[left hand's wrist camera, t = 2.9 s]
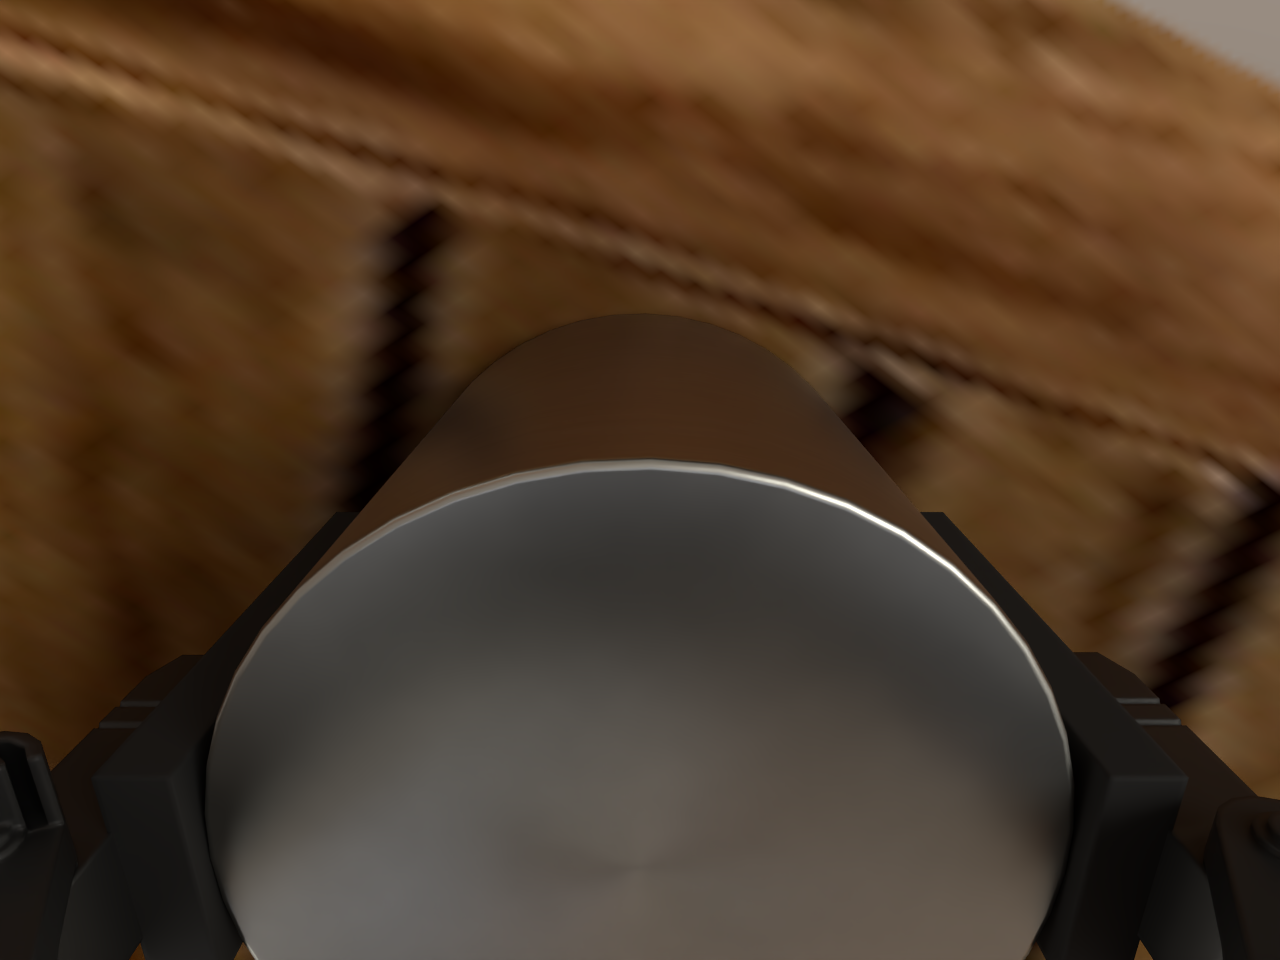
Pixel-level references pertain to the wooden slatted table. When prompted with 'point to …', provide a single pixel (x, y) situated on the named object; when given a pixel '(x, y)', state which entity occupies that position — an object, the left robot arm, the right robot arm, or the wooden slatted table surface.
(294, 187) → the wooden slatted table surface
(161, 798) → the left robot arm
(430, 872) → the can
